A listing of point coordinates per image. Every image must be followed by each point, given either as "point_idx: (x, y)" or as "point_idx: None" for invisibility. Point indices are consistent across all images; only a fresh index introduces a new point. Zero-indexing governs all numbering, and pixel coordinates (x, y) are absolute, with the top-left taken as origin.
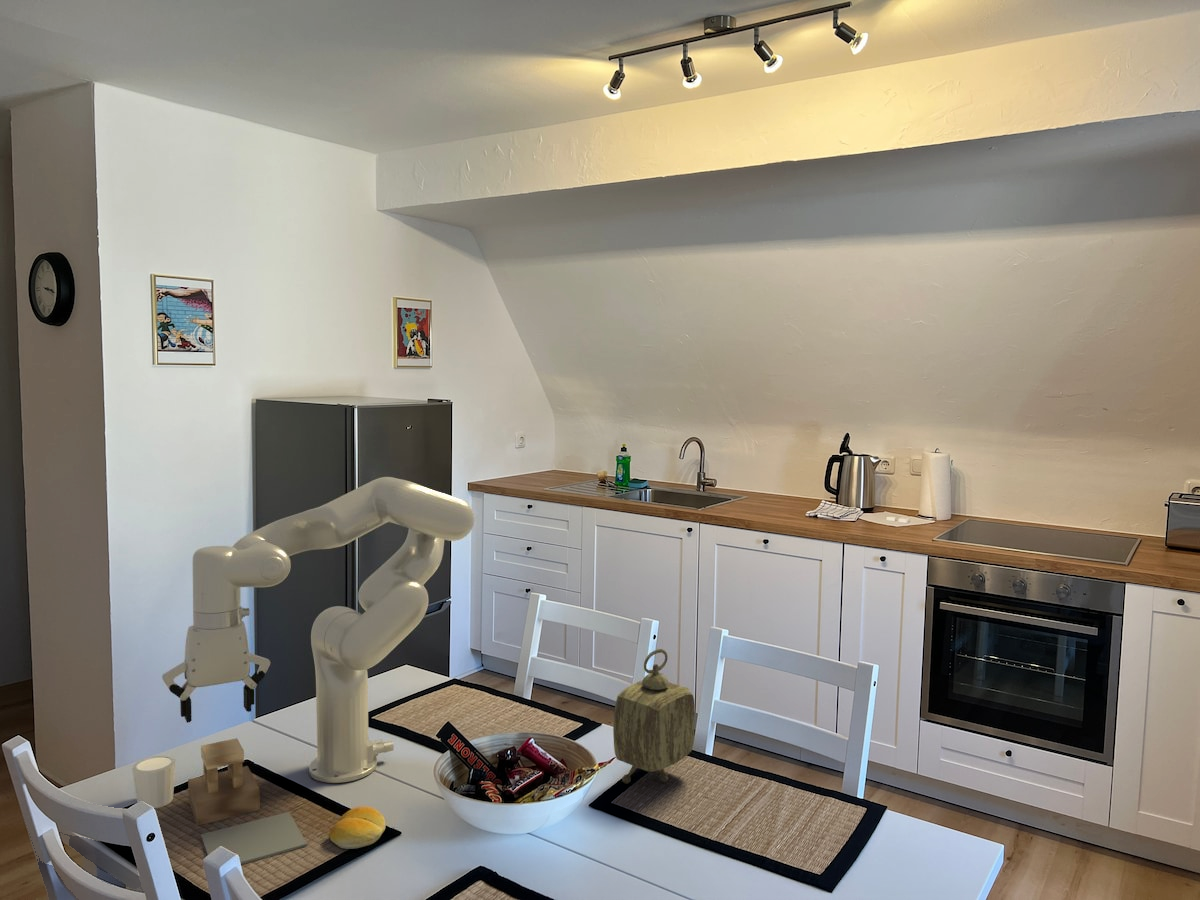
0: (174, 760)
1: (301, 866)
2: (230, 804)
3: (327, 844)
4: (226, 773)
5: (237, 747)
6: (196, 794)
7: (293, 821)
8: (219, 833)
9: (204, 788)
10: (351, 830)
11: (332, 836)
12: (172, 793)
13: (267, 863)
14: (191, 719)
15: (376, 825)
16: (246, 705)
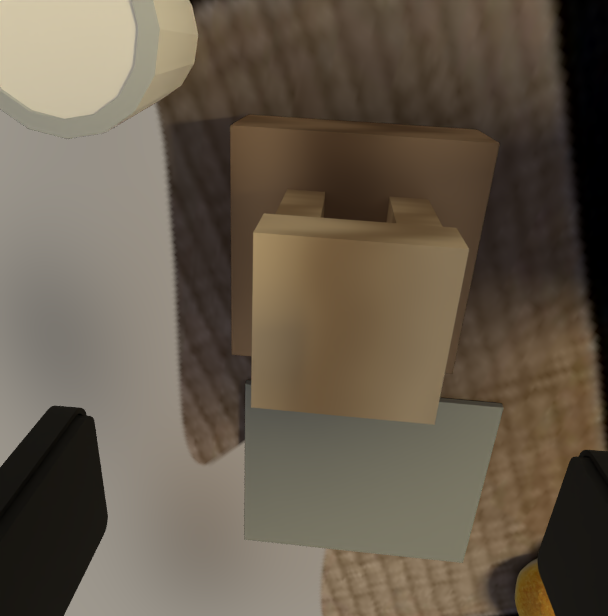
0: (153, 42)
1: (415, 607)
2: None
3: (504, 574)
4: (391, 167)
5: (422, 372)
6: (240, 290)
7: (486, 461)
8: None
9: None
10: None
11: (518, 603)
12: (186, 69)
13: (357, 564)
14: (102, 536)
15: None
16: (557, 599)
